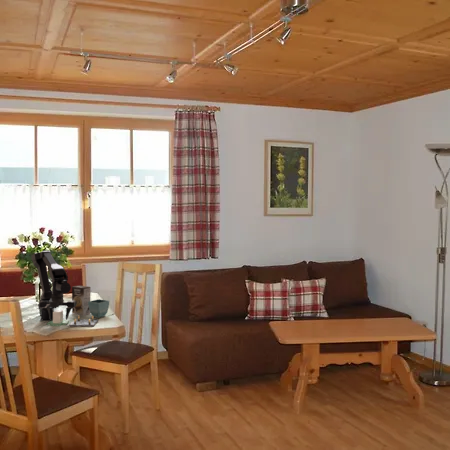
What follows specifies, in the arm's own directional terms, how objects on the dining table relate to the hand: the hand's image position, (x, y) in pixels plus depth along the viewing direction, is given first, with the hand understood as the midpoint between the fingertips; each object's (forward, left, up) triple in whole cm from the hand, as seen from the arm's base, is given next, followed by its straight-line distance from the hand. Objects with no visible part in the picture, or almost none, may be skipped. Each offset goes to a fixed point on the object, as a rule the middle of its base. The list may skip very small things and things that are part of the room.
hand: (58, 319), depth 299 cm
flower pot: (+18, +19, -2) cm, 26 cm away
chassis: (+14, 0, -2) cm, 14 cm away
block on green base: (0, 0, -2) cm, 2 cm away
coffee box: (+6, +27, -2) cm, 28 cm away
